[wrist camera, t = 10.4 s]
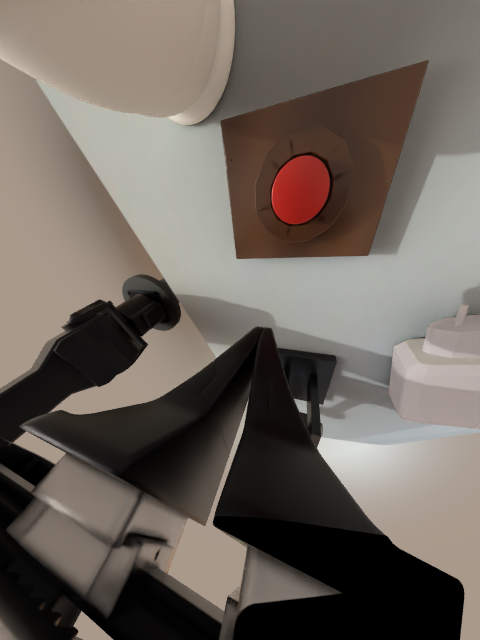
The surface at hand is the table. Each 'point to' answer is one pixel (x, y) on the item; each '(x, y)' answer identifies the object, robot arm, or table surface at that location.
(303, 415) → the lever
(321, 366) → the black lever mechanism
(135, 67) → the jar
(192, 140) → the table surface
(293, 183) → the button
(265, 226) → the button block
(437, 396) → the charger
